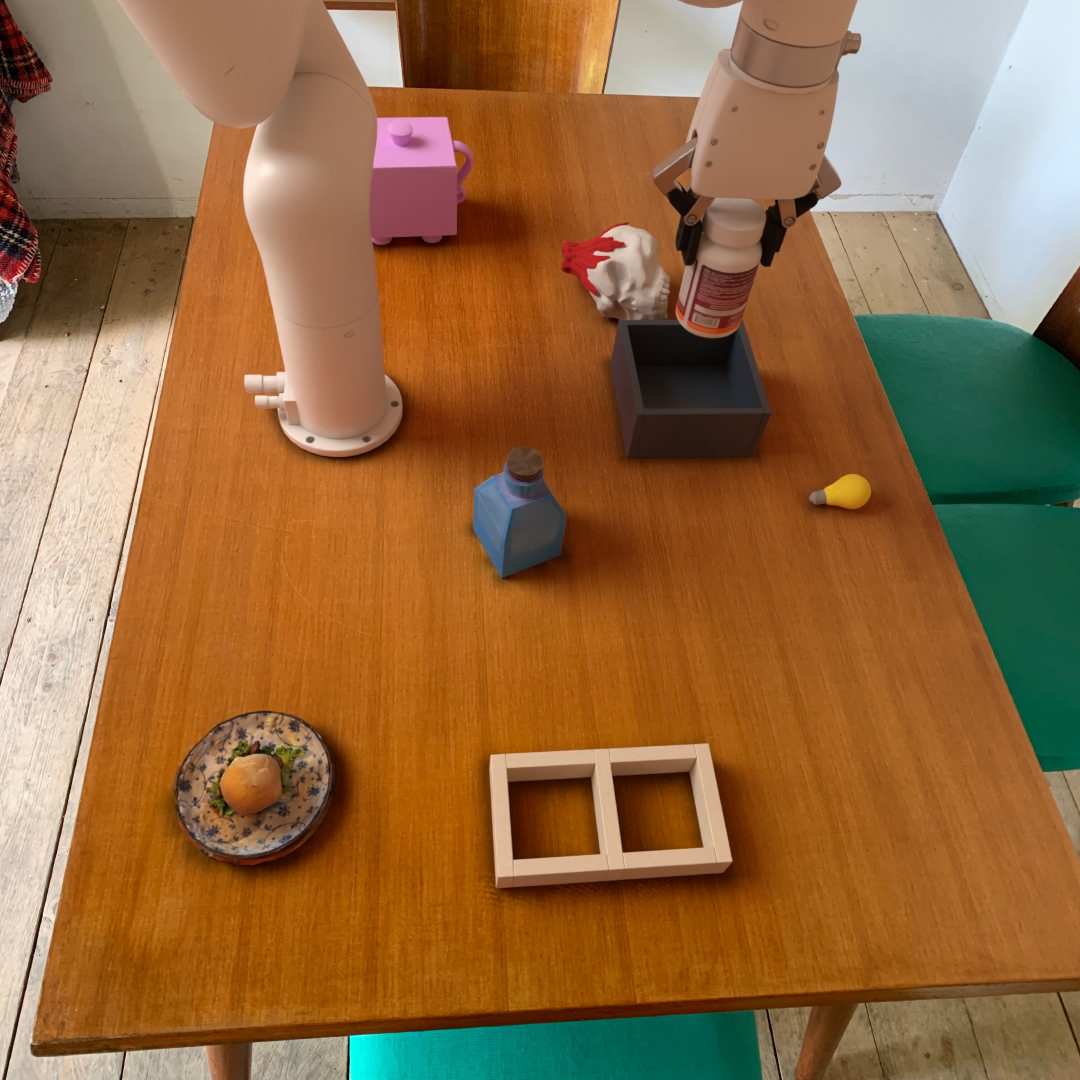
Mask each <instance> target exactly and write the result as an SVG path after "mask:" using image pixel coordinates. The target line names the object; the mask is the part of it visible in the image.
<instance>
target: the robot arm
mask: <svg viewBox="0 0 1080 1080" xmlns="http://www.w3.org/2000/svg"><path fill="white" fill-rule="evenodd" d="M677 1H679V2H681V3H683V4H685V5H688V6H693V7H698V8H701V9H721V8H727V7H730V6H733V5H736V4H739V3H741V7H740V10H739V15H738V19H737V22H736V27H735V31H734V35H733V39H732V43H731V46H730V48H723V49H722V50H720V51H719V52H718V54H717V56H716V57H715V59H714V62H713V64H712V66H711V68H710V71H709V73H708V75H707V77H706V80H705V83H704V86H703V88H702V91H701V93H700V96H699V99H698V102H697V105H696V108H695V110H694V114H693V117H692V119H691V123H690V126H689V130H688V132H687V136H686V141H685V144H683V145H682V146H681V147H679V148H678V149H676V150H675V151H674V152H672V153H671V154H670V155H669V156H668V157H666V158H664V159H663V160H662V161H660V162H659V163H658V164H657V165H655V166H654V167H652V169H651V176H652V181H653V184H654V185H655V186H656V188H657V189H658V190H659V191H660V192H661V193H662V194H663V196H664V197H665V198H666V199H667V200H668V202H669V204H670V205H671V206H672V207H673V208H674V209H675V211H676V212H677V213H678V214H679V215H680V218H679V222H678V227H677V230H676V235H675V242H674V243H675V248H676V249H675V250H676V251H678V252H680V253H681V256H682V261H683V265H684V266H685V267H686V266H691V265H692V264H694V261H695V257H696V254H697V250H698V246H699V242H700V238H701V235H702V231H703V226H702V223H701V222H702V218H703V216H704V213H705V212H706V210H707V209H708V208H709V206H710V205H711V204H712V202H713V201H714V200H715V198H737V199H751V200H773V203H774V204H773V205H768V207H767V209H766V210H764V211H765V213H766V222H765V226H764V229H763V233H762V236H761V239H760V241H761V243H762V256H761V259H760V263H759V264H760V265H761V266H762V267H763V268H770V267H771V266H772V263H773V260H774V257H775V255H776V253H777V254H778V253H780V250H781V248H782V245H783V242H784V240H785V236H786V234H787V231H788V229H789V228H792V227H794V226H795V225H796V223H797V219H798V218H800V217H801V216H803V215H805V213H807V212H808V211H811V209H813V208H815V207H816V206H817V205H818V203H819V201H820V200H824V199H825V198H826V197H829V195H831V194H833V193H834V192H836V191H837V190H838V189H840V188H841V186H842V180H841V178H840V175H839V174H838V172H837V170H836V169H835V167H834V165H833V164H832V163H831V161H830V159H829V158H828V157H827V155H826V154H825V152H826V149H827V145H828V141H829V137H830V133H831V129H832V125H833V121H834V114H835V109H836V104H837V97H838V89H839V83H840V74H839V71H838V67H839V64H840V61H841V59H842V57H843V56H844V57H846V56H847V55H850V54H851V55H857V54H858V53H859V51H860V48H861V45H862V34H861V33H859V32H858V33H857V32H852V30H849V27H850V24H851V21H852V19H853V15H854V12H855V9H856V7H857V3H858V1H859V0H677ZM116 2H117V3H118V5H119V6H120V8H121V9H122V11H123V12H124V13H125V15H126V16H127V17H128V19H129V20H130V22H131V23H132V25H133V26H134V27H135V29H136V30H137V32H138V33H139V35H140V36H141V38H142V39H143V40H144V42H145V43H146V45H147V46H148V47H149V49H150V50H151V52H152V53H153V54H154V56H155V58H156V59H157V61H158V62H159V63H160V64H161V66H162V68H163V69H164V71H165V72H166V73H167V74H168V77H170V79H171V80H172V82H173V83H174V85H175V86H176V88H177V89H178V90H179V92H180V93H181V94H182V96H183V97H184V98H185V99H186V100H187V101H188V103H190V104H191V106H193V107H194V109H196V110H197V111H198V112H199V113H200V114H201V115H203V116H204V117H205V118H206V119H208V120H210V121H211V122H213V123H215V124H218V125H221V126H223V127H225V128H230V129H238V130H239V129H241V130H242V129H247V128H252V127H255V126H256V127H255V132H254V134H253V138H252V141H251V145H250V149H249V152H248V156H247V159H246V165H245V169H244V176H243V185H242V186H243V187H242V188H243V189H242V195H243V207H244V212H245V217H246V220H247V224H248V226H249V229H250V232H251V234H252V236H253V239H254V241H255V244H256V247H257V249H258V253H259V256H260V259H261V264H262V268H263V271H264V276H265V280H266V285H267V289H268V294H269V300H270V303H271V307H272V312H273V313H272V314H273V317H274V323H275V327H276V332H277V337H278V342H279V346H280V351H281V357H282V362H283V366H284V371H277V372H276V375H265V374H245V375H244V378H243V384H244V386H243V387H244V392H245V394H247V395H249V394H251V395H252V394H255V396H254V406H255V410H269V409H277V415H278V416H277V417H278V420H279V424H280V427H281V429H282V431H283V433H284V434H285V435H286V437H287V438H288V439H289V440H290V441H291V442H292V443H293V444H294V445H296V446H297V447H299V448H300V449H302V450H305V451H307V452H309V453H312V454H315V455H318V456H322V457H330V458H345V457H352V456H353V457H354V456H358V455H361V454H365V453H368V452H370V451H372V450H374V449H377V448H378V447H380V446H382V445H383V444H384V443H385V442H387V441H388V440H389V439H390V438H391V437H392V436H393V435H394V434H395V433H396V431H397V429H398V428H399V426H400V424H401V421H402V418H403V410H404V407H403V397H402V395H401V391H400V389H399V387H398V386H397V385H396V383H395V382H394V380H393V379H392V378H390V377H389V376H388V375H387V374H386V372H385V358H384V346H383V345H384V344H383V334H382V321H381V312H380V311H381V310H380V298H379V287H378V274H377V267H376V258H375V250H374V243H373V241H372V238H371V231H370V217H369V208H370V189H371V180H372V174H373V165H374V164H373V162H374V156H375V149H376V142H377V129H378V123H377V118H378V113H377V108H376V105H375V102H374V99H373V96H372V94H371V91H370V90H369V87H368V85H367V83H366V81H365V78H364V76H363V75H362V73H361V71H360V69H359V67H358V65H357V63H356V61H355V60H354V58H353V56H352V54H351V52H350V50H349V47H348V46H347V44H346V42H345V41H344V39H343V37H342V35H341V32H340V31H339V29H338V27H337V25H336V24H335V22H334V20H333V18H332V16H331V14H330V12H329V11H328V9H327V6H326V5H325V3H324V1H323V0H116ZM689 169H690V171H691V172H690V176H691V180H690V182H689V184H688V185H687V187H684V186H683V185H682V184H681V183H680V181H678V180H677V178H678V177H680V176H681V175H682V174H684V173H685V172H686V171H688V170H689ZM267 393H269V394H270V393H271V394H273V393H277V395H268V394H267ZM261 394H263V395H261ZM264 394H267V395H264Z"/></svg>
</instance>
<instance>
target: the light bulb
mask: <svg viewBox="0 0 1080 1080" xmlns="http://www.w3.org/2000/svg"><path fill="white" fill-rule="evenodd" d="M871 488H872V487H871V485H870V483H869V482H868V480H867V479H866V478H864V477H863V476H861V475H860V474H858V473H857V474H856V473H849V474H845V475H843V476H842V477H839V478H838V480H836V481H834V483H832V484H830V485H827V486H825V487H824V489H821V490H816V491H812V493H810V495H809V497H808V499H809V502H810V503H812V504H813V505H814V506H817V505H823V504H826V505H829V506H836V507H841V508H843V509H847V510H856V509H859V508H862V507H863V506H865V505H866V503H867V502H868V501H869V500H870V498H871V495H872V489H871Z"/></svg>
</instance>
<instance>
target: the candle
mask: <svg viewBox="0 0 1080 1080" xmlns="http://www.w3.org/2000/svg"><path fill="white" fill-rule="evenodd" d="M560 252H561V254H560V257H563V259H562V261H561V265H560V270H561V271H562V272H563V273H565V274H570V275H574V276H575V277H576V278H578V280H579V281H580V282H581V284H582V286H583V288H584V289H585V290H586V291H588V293H589V295H590V296H591V297H592V299H593V300H594V301H595V303H596V308H597V310H598V312H599V314H600V315H601V316H602V317H603V318H605V319H607V318H609V319H610V318H612V319H613V318H614V319H617V320H668V318H669V316H668V313H667V310H668V303H669V299H668V297H669V295H670V294H671V291H670V290H669V289H670V283H671V276H670V275H669V274H667V273H666V271H665V269H664V267H663V266H662V264H661V263H660V259H659V258H660V257H659V255H660V245H659V242H658V241H657V239H656V238H655V236H654V235H652V234H651V232H649V231H647V230H646V229H644V228H638V227H635V226H632V225H630V224H629V222H622V223H616V224H614V225H611V226H609V227H607V228H606V229H605V230H603V231H602V232H601V233H600V234H599V235H597V236H595V237H593V238H591V239H589V240H586V241H581V242H578V241H577V242H576V241H571V240H567V239H566V240H564V241H563V243H562V245H561V248H560Z"/></svg>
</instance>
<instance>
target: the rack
mask: <svg viewBox="0 0 1080 1080" xmlns="http://www.w3.org/2000/svg"><path fill="white" fill-rule="evenodd" d="M711 752H712V751H711V748H710V743H708V742H707V743H695V744H694V743H690V744H673V745H672V744H671V745H651V746H632V747H631V746H630V747H617V748H615V747H614V748H594V749H572V750H554V751H553V750H552V751H534V752H517V753H516V752H515V753H495V754H490V757H489V768H488V769H489V770H488V771H489V788H490V801H491V802H490V804H491V821H492V822H491V823H492V824H491V825H492V840H493V842H492V843H493V855H494V856H493V857H494V859H493V860H494V877H495V888H496V889H505V888H506V889H507V888H519V887H520V888H521V887H535V886H550V885H564V884H566V885H567V884H577V883H578V884H579V883H595V882H607V881H619V880H620V881H623V880H637V879H651V878H666V877H667V878H668V877H679V876H680V877H682V876H696V875H710V874H711V875H712V874H723V873H724V872H725V871H726V870H727V869H728V868H729V867H730V865H731V864H733V857H732V852H731V846H730V842H729V836H728V832H727V828H726V821H725V817H724V813H723V812H724V811H723V807H722V803H721V802H722V801H721V798H720V792H719V788H718V787H719V786H718V782H717V778H716V777H717V776H716V773H715V767H714V762H713V758H712V753H711ZM688 772H689V778H690V782H691V788H692V795H693V798H694V804H695V810H696V816H697V820H698V821H697V822H698V825H699V831H700V837H701V842H702V847H692V848H676V849H662V850H646V851H645V850H644V851H631V852H629V851H628V852H623V846H622V844H623V843H622V837H621V831H620V830H621V829H620V823H619V816H618V809H617V808H618V807H617V801H616V800H617V799H616V793H615V786H614V779H613V777H616V776H635V775H637V776H638V775H650V774H651V775H653V774H672V773H673V774H674V773H688ZM581 778H584V779H585V778H590V781H591V790H592V796H593V805H594V813H595V814H594V815H595V821H596V822H595V823H596V829H597V830H596V831H597V837H598V846H599V854H585V855H569V856H567V855H566V856H553V857H552V856H551V857H539V858H536V857H535V858H523V859H522V858H521V859H514V854H513V839H512V838H513V837H512V826H511V825H512V822H511V811H510V795H509V783H510V782H528V781H545V780H547V781H548V780H564V779H581ZM589 878H590V879H589Z"/></svg>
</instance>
